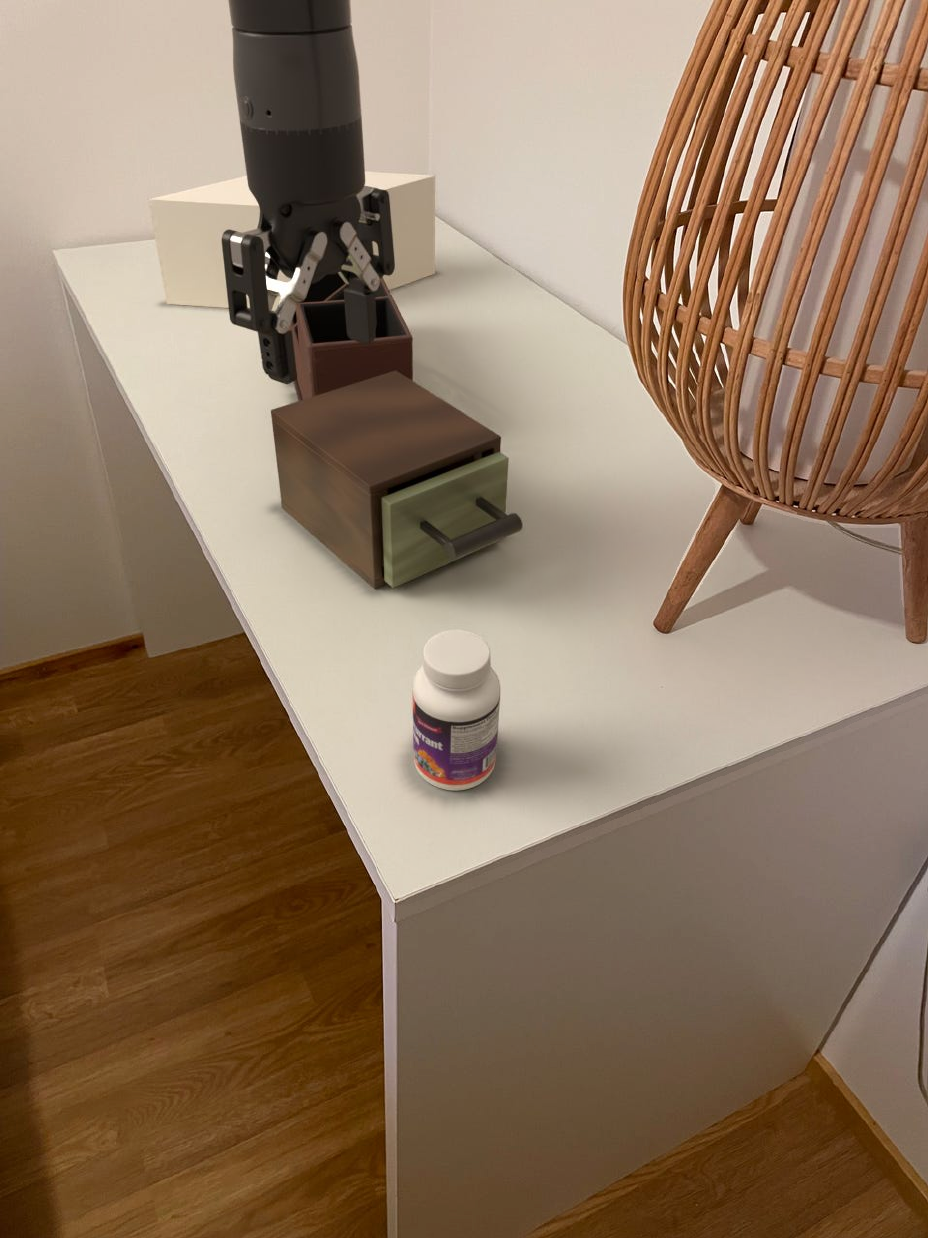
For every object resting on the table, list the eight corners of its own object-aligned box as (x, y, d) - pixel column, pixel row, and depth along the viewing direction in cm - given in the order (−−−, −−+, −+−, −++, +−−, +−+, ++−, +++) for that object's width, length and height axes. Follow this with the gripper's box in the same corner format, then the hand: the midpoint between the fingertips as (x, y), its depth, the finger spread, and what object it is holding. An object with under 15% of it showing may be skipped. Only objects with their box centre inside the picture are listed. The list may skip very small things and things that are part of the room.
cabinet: (496, 535, 84) (501, 436, 77) (374, 589, 77) (369, 486, 71) (398, 464, 92) (395, 369, 86) (281, 507, 86) (270, 409, 80)
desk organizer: (312, 459, 92) (302, 347, 85) (279, 333, 114) (269, 235, 107) (420, 448, 95) (420, 337, 87) (368, 326, 116) (364, 229, 109)
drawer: (542, 565, 79) (549, 483, 74) (429, 619, 73) (429, 534, 68) (410, 470, 90) (408, 392, 85) (303, 511, 84) (295, 430, 79)
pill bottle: (400, 745, 65) (397, 635, 58) (474, 722, 66) (478, 612, 60) (433, 804, 61) (433, 693, 55) (510, 777, 63) (518, 666, 56)
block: (158, 278, 126) (140, 177, 119) (414, 251, 136) (413, 156, 128) (176, 331, 114) (157, 223, 106) (457, 297, 124) (459, 195, 116)
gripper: (263, 141, 54) (295, 410, 64) (418, 98, 63) (424, 339, 73) (170, 124, 57) (214, 381, 67) (330, 85, 66) (348, 317, 76)
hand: (323, 359), depth 70 cm, fingers open, 8 cm apart
